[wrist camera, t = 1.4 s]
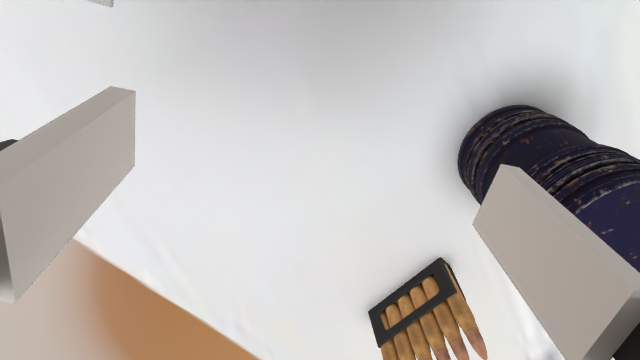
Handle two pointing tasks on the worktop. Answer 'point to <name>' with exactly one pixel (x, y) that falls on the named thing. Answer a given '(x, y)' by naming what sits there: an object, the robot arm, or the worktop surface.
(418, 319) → the ammunition clip
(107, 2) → the mat
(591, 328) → the robot arm
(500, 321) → the worktop surface
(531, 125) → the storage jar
